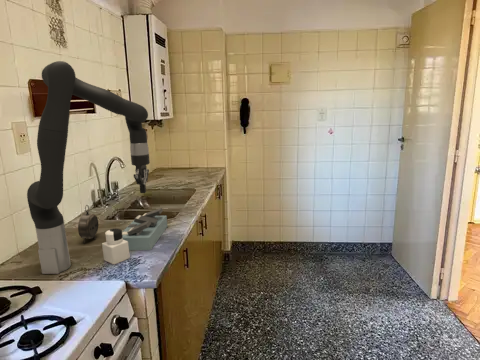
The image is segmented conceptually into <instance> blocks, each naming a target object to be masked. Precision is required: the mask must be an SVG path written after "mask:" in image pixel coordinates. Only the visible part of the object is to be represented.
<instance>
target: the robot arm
mask: <svg viewBox="0 0 480 360" xmlns="http://www.w3.org/2000/svg"><path fill="white" fill-rule="evenodd" d="M41 79H42V81H43V83H44V84H45V85H46V86H47V98H46V103H45V107H44V109H43V111H42V114H41V116H40V120H39V122H38V127H37V135H36V137H37V139H36V145H37V146H36V148H37V153H38V157H39V161H40V174H39V175H40V177H39V180H37V181H34V182H33V183H31V184H30V185H29V187H28V188H27V191H26V198H27V204H28V210H29V214H30V216H31V219H32V221H33V223H34V228H35V233H36V238H37V245H38V250H37V251H38V258H39V262H40V269H41V274H42V275H45V274H46V275H47V274H48V275H49V274H50V275H51V274H52V275H53V274H54V275H56V274H57V275H58V274H60V273H62V272H64V271H66V270H68V269H69V268H70V267H71V266H72V262H71V257H70V251H69V250H70V249H69V245H68V237H67V233H66V226H65V221H64V216H63V214H62V213H61V212H60V209H59V207H58V206H59V205H60V204H61V202H62V201H63V198H64V168H65V161H66V149H67V143H68V137H69V134H68V133H69V124H70V123H69V122H70V111H71V110H70V108H71V103H72V96H75V97H77V98H80V99H83V100H86V101H87V102H90V103H92V104H94V105H96V106H99V107H100V108H103V109H105V110H106V111H108V112H111V113H113V114H116V115H118V116H119V115H120V116H124V120H125V123H126V127H127V130H128V132H129V145H130V146H129V149H130V150H129V151H130V152H129V153H130V159H131V165H132V166H135V170H134V172H135V174H133V178H134V181H135V183H136V184H137V185H139V192H140V194H145V193H147V182H148V181H149V173H150V170H149V169H148V168H147V166H148V165H149V164H150V163H151V162H150V161H151V160H150V152H149V144H148V135H147V133H148V132H147V130H146V129H145V128H144V127H143V124H142V123H144V122H146V121H147V120H148V118H149V112H148V110H147V109H146V107H144V106H143V105H142V104H138V103H136V102H134V101H131V100H128V99H126V98H123V97H122V96H120V95H118V94H116V93H115V92H112V91H110V90H109V89H105V88H102V87H99V86H96V85H93V84H90V83H88V82H86V81H83V80H81V79H79V78H78V77H76V72H75V69H74V68H73V67H72V66H71V65H70V64H69V63H68V62H66V61H64V60H62V61H61V60H58V61H54V62H51V63H49V64H47V65H46V66H44V68H43V69H42V71H41Z"/></svg>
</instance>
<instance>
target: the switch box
mask: <svg viewBox="0 0 480 360" xmlns="http://www.w3.org/2000/svg"><path fill="white" fill-rule="evenodd" d="M150 218H155V219H158V221H157V223H156V225H155V226H149V227H148V228H146V229H144V230H141V231H139V232H137V233H134V234H132V235H130V236H129V235H128V233H127V232H128V231H129V230H130V229H131V228H133V227H135V226H137V225H140V224H141V223H136V222H134V220H133V221H132V222H131V223H129V225H127V226H126V228H124V229H123V230H122V236H123V240H125V241H128V246H129V251H151V250H153V248H154V246H155V245H156V244H157V242H158V241H159V240H160V238H161V236H162V235H163V234H164V232H165V230H166V229H167V228H168V216H167V215H156V216H153V217H150Z"/></svg>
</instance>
